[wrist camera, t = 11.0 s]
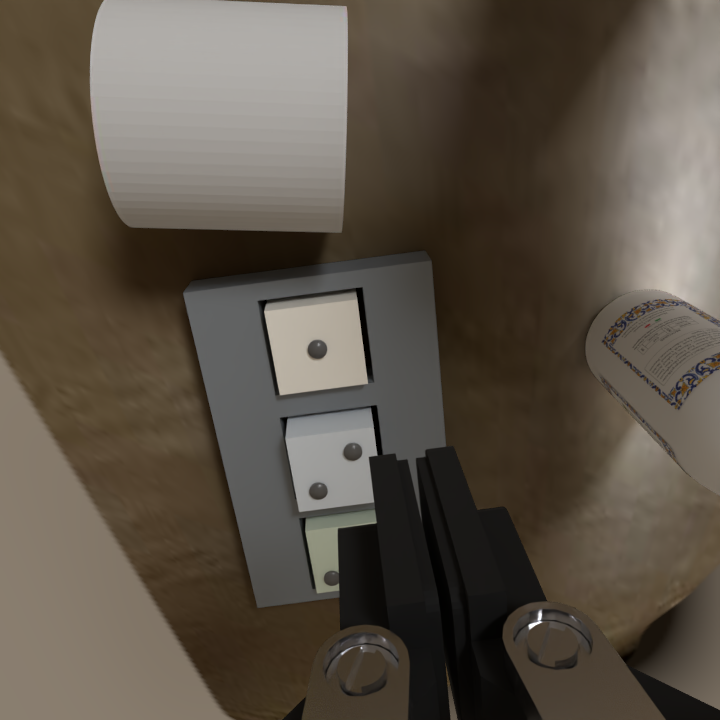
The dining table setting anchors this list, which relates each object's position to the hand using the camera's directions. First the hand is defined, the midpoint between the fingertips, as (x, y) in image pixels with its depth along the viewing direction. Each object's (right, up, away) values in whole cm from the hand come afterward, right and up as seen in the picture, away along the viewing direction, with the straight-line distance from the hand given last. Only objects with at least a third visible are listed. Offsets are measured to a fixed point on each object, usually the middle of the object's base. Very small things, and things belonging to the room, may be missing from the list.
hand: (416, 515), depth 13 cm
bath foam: (+17, +4, +29) cm, 33 cm away
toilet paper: (-7, +16, +23) cm, 29 cm away
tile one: (-4, +5, +27) cm, 27 cm away
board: (-3, -2, +30) cm, 30 cm away
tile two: (-3, -2, +29) cm, 29 cm away
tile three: (-2, -9, +33) cm, 34 cm away
